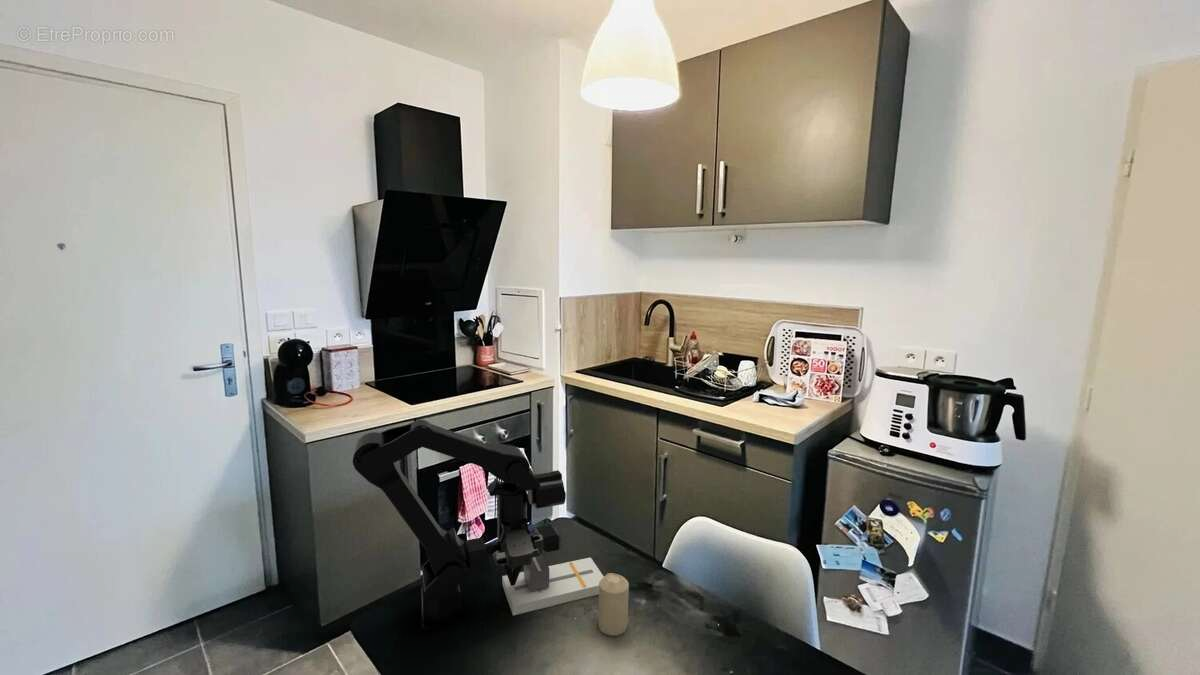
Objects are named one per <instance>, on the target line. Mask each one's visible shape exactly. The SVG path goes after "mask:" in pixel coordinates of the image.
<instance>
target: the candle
mask: <svg viewBox="0 0 1200 675" xmlns="http://www.w3.org/2000/svg"><path fill="white" fill-rule="evenodd" d="M603 576H604V577H603V578H602V579H601V580H600V582H599V594H598V614H597V615H598V617H597V618H598V619H597V620H598V621H597V622H598V623H597V625H598V628H599V631H600V632H601V633H603V634H604V635H607V636H610V637H617V636H621V635H623V634H624V633H625V632H626V631H627V628H628V620H629V594H630V593H629V591H630V583H629V581H628V580H627V579H626V578H625V577H624V576H622V575H620V574H617V573H613V572H611V573H610V572H608V573H607V574H605V575H603Z"/></svg>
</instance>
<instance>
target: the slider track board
mask: <svg viewBox="0 0 1200 675" xmlns="http://www.w3.org/2000/svg"><path fill="white" fill-rule="evenodd" d="M548 567H549V587H548V588H543V589H539V590H535V591H529V588H528V586H527V583H526V581H525V579H524V571H520V573H519V576H518V578H517V581H516V584H515V585H513V586H511V585H510V582H509V579H508V576H507V574H506V575H502V576H501V577H502V580H501V582H502V588H503V591H504V594H505V596H506V600H507V602H508V605H509V608H510V611H511V613H512V614H511V615H512V616H516V615H522V614H525V613H528V612H533V611H537V610H541V609H545V608H550V607H553V606H557V605H561V604H565V603H569V602H573V601H577V600H581V599H586V598H590V597H593V596H594V597H595V596H599V582H600V580H601V579H602V578H603V577H604V576H605V575H603V574H602V571H600V569H599V568H598V566H597V564H596V563H595V562H594V560H593V558H591V557H587V558H580V559H577V560H572V561H567V562H563V563H557V564H553V565H548Z"/></svg>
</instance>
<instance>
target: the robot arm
mask: <svg viewBox="0 0 1200 675" xmlns="http://www.w3.org/2000/svg"><path fill="white" fill-rule="evenodd" d="M422 448H424V449H428V450H429V451H432V452H436V453H438V454H442V455H444V456H448V457H451V458H454V459H457V460H460V461H463V462H467V463H469V464H471V465H475V466H478V467H481V468H482V469H484V470H485V471H487V472H488V473H490V474H491V475H492V476H493V477H495V478H494V479H493V481H492V482H491V483H489V484H488V485H487V486H486V489H487V492H488V494H489V496H491V497H495V496H497V500H496V501H497V512H496V513H497V514H496V515H497V541H495V542H490V543H485V540H484V538H483V537H482V536H481V537H478V538H477V537H476V538H472V539H466V540H465V541H464V540H463V539H461V538H460V537H459V536H458V534H457V532H456V529H455V527H452V528H450V529H449V530H448V531H447V530H445V529H443V528H442V527H441V526H440V525H439V524H438V522H437V520H435V517H434V516H433V515H432V513H431V512H430V510H429V509H428V507H427V506H426V505H425V503H424V502H423V500H422V499H421V498H420V496H419V495H418V494H417V492H416V490H415V489H414V488H413V486H412V485H411V484H410V482H409V481H408V479H407V478H406V477H405V475H404V473H403V472H402V470H401V467H400V464H399V461H401V460H402V459H404V458H405V457H407V456H408V455H411V454H412V453H413V452H415V451H417V450H419V449H422ZM352 465H353V468H354V470H355V471H356V472H357V473H358V474H360V475H361V477H363V478H364V480H366V481H367V482H368V483H370V484H371V485H372V486H375V487H376V488H378V489H379V490H381V491H382V492H383V493H384V494H385V496H386V497H387V498H388V501H390V503H391V504H392V505H393V507H394V509H396V511H397V513H398V514H399V515H400V517H401V518H402V519H403V521H404V522H405V523H406V525H407V526H408V527H409V529H410V530H411V532H412V533H413V535H414V536H415V538H417V540H418V541H419V543H420V544H421V545H422V547H423V548H424V551H425V554H426V556H427V561H425V563H423V564H422V566H421V571H422V572H421V574H422V583H421V607H420V608H421V609H420V612H421V613H420V614H421V621H422V622H421V626H422V629H423V630H428V629H433V628H438V627H441V626H446V625H450V624H453V623H458V622H459V621H460V616H459V615H460V614H459V613H460V612H461V609H462V608H461V606H462V605H461V600H462V599H461V598H462V597H461V588H460V582H461V581H462V580H463V579H464V577H465V576H466V574H467V571H468V569H473V568H478V567H482V566H485V564H487V562H488V555H491V554H492V556H493V559H494V562H495V564H496V565H497V566H502V567H503V568H504V570H505V572H506V575H507V576H508V579H509V582H510V585H511V586H513V585H515V584H516V581H517V578H518V576H519V573H520V572H521V569H522V568H523V567H524V565H530V564H532V562H533V557H538V556H541V554H543V552H545V553H549V552H555V551H559V550H560V549H561V548H562V544H561V543H562V540H561V536H560V534H559V533H558V531H557V529H556V527H555V526H554V525H553V524H548V525H542V526H536V527H535V529H534V533H530V529H529V522H528V521H529V520H528V503H527V502H529V504H530V505H534V508H535V509H536V510H538V509H543V508H549V507H555V506H561V505H564V504H565V503H566V498H567V494H566V491H565V485H564V481H563V474H562V473H561V472H560V470H552V471H549V472H544V473H537V474H535V472H534V471H533V470H532V468H531V467H530V463H529V460H528V459H527V458H526V456H525V454H524V453H523V452H522V450H521V449H520V448H519V447H517V446H515V445H510V444H504V443H487V442H483V441H481V440H478V439H475V438H471V437H470V436H466V435H464V434H462V433H459V432H455V431H453V430H449V429H446V428H444V427H441V426H438V425H435V424H432V423H430V422H429V421H428V420H425V419H417V420H415V421H413V422H410V423H408V424H402V425H400V426H395V427H390V428H388V429H386V430H383V431H380V432H375V431H374V432H368V433H366V434H365V433H364V434H363V435H362V436H361V437H359V439H358V440H357V442H356V443H355V448H354V452H353V457H352ZM498 479H499V480H498Z"/></svg>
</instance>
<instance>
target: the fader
mask: <svg viewBox="0 0 1200 675" xmlns="http://www.w3.org/2000/svg"><path fill="white" fill-rule="evenodd" d="M548 566H549V565H548V563H547V562H546V559H545V558H544V555H540V556H538V557H533V562H532V564H530V565H523V572H524V579H525V581H526V583H527V586H528V588H529V591H535V590H539V589H543V588H548V587H549V567H548Z"/></svg>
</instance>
